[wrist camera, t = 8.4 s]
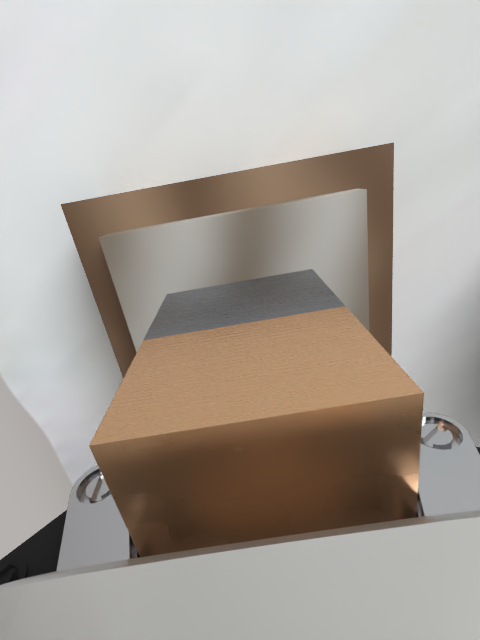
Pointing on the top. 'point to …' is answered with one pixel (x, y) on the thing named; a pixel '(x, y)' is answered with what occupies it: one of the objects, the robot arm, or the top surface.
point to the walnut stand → (242, 238)
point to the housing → (259, 420)
